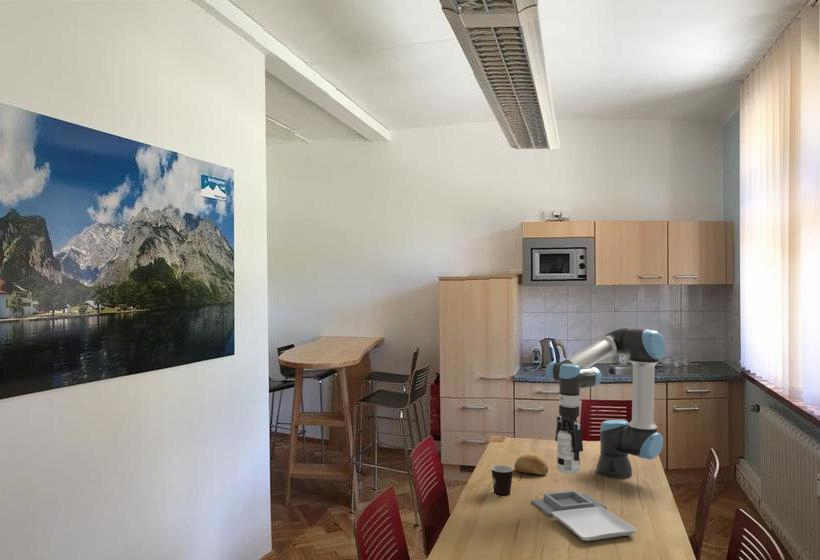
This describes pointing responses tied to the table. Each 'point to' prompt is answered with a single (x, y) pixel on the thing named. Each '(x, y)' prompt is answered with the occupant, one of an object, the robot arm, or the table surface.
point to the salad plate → (593, 523)
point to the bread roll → (531, 465)
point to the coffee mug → (502, 479)
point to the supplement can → (565, 453)
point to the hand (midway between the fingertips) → (568, 465)
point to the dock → (565, 502)
